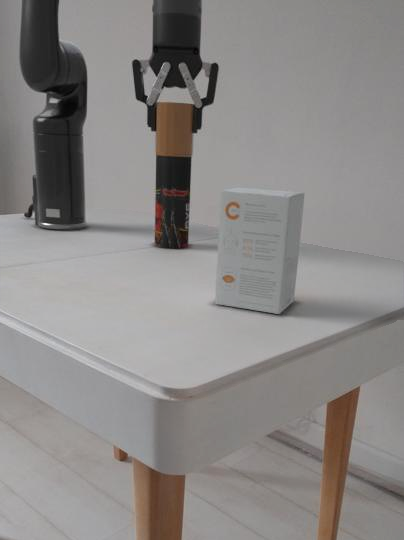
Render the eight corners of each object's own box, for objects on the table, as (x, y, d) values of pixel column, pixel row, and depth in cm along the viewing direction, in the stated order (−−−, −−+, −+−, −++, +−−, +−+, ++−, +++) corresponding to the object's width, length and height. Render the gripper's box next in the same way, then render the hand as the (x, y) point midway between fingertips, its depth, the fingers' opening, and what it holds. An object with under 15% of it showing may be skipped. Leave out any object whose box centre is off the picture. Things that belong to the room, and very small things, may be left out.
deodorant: (187, 249, 97) (190, 157, 92) (152, 247, 97) (154, 155, 92) (188, 243, 103) (192, 156, 97) (156, 241, 103) (157, 154, 97)
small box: (294, 302, 69) (306, 191, 64) (279, 315, 63) (291, 195, 58) (232, 292, 72) (239, 186, 67) (213, 304, 66) (219, 189, 61)
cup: (147, 154, 93) (148, 101, 90) (169, 154, 98) (171, 104, 95) (178, 157, 90) (179, 102, 87) (199, 156, 95) (201, 105, 92)
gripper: (224, 22, 90) (218, 134, 96) (134, 18, 90) (134, 130, 97) (223, 12, 83) (217, 134, 89) (126, 8, 84) (127, 130, 90)
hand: (174, 131), depth 93 cm, fingers closed on cup, 6 cm apart
